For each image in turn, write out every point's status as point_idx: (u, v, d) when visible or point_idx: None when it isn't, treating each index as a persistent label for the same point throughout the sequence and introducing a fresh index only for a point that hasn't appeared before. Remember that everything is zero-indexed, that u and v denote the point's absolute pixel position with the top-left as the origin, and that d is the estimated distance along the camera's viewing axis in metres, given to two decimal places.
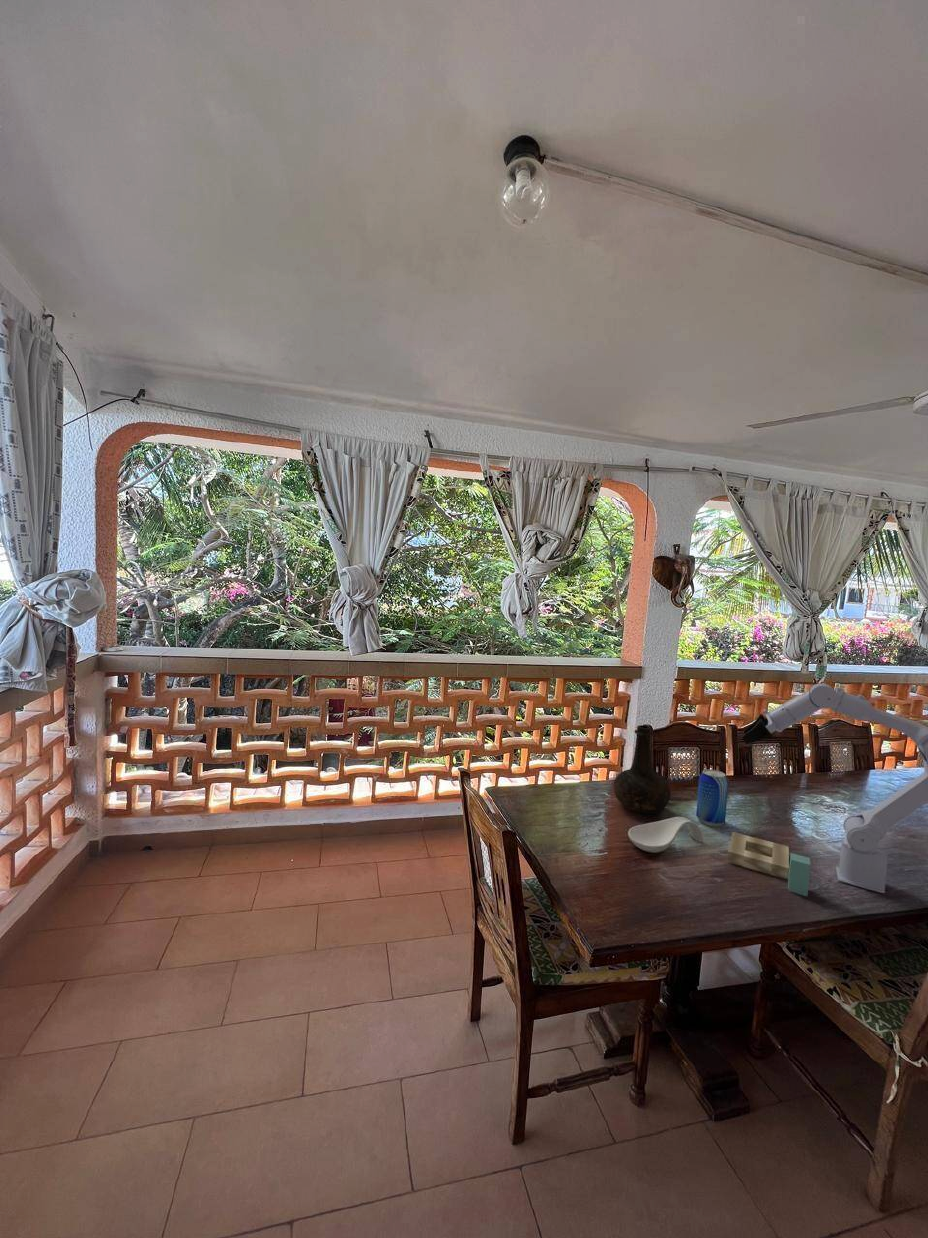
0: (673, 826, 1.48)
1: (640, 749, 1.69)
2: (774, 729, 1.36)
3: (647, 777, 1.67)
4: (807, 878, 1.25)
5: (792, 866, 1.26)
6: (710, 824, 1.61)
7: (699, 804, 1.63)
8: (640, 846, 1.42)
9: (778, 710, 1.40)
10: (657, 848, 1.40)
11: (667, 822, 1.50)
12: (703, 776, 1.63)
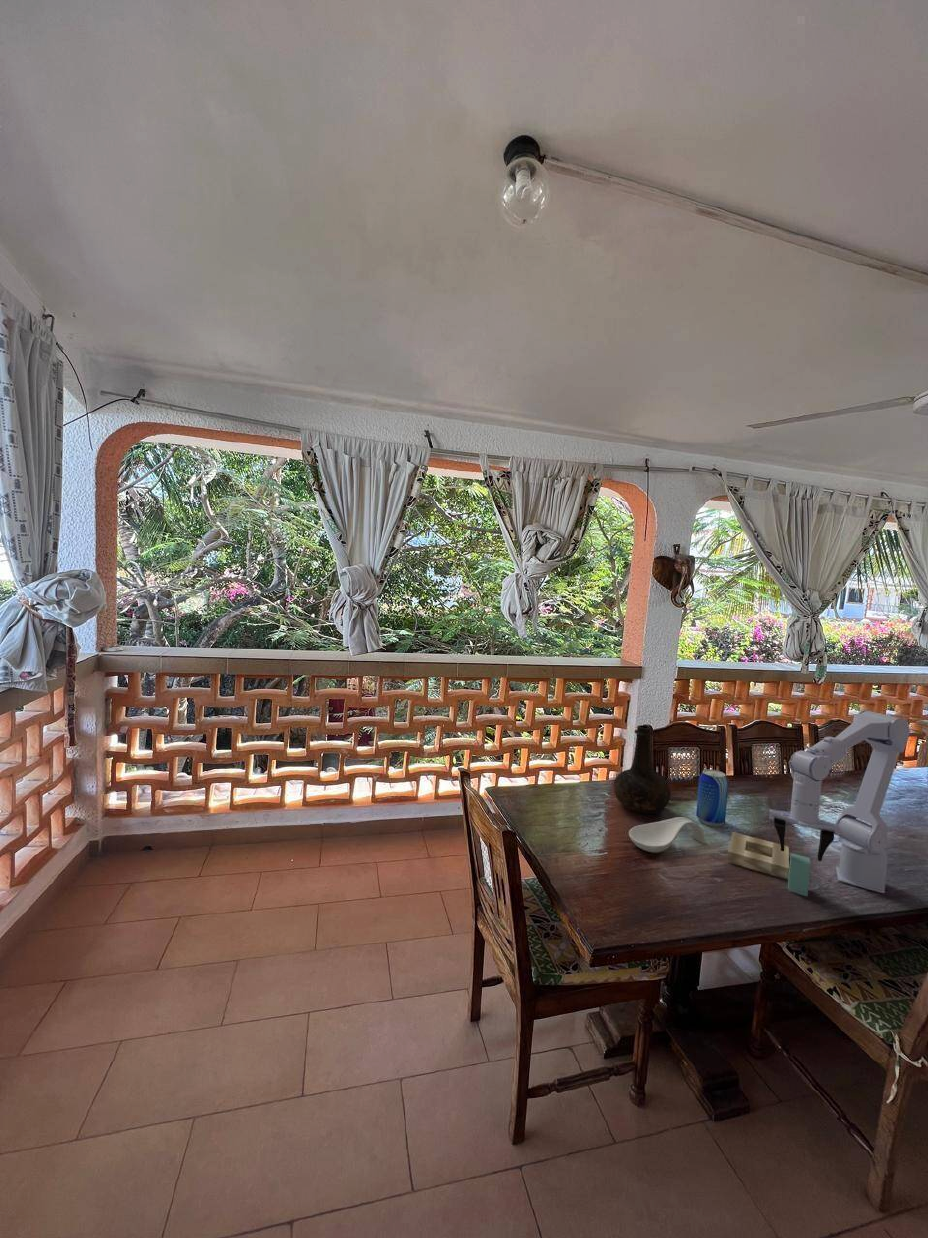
0: (674, 826, 1.48)
1: (640, 749, 1.69)
2: None
3: (647, 777, 1.67)
4: (807, 878, 1.25)
5: (792, 866, 1.26)
6: (710, 824, 1.61)
7: (699, 804, 1.63)
8: (640, 846, 1.42)
9: (813, 812, 1.23)
10: (657, 848, 1.40)
11: (668, 822, 1.50)
12: (703, 776, 1.63)
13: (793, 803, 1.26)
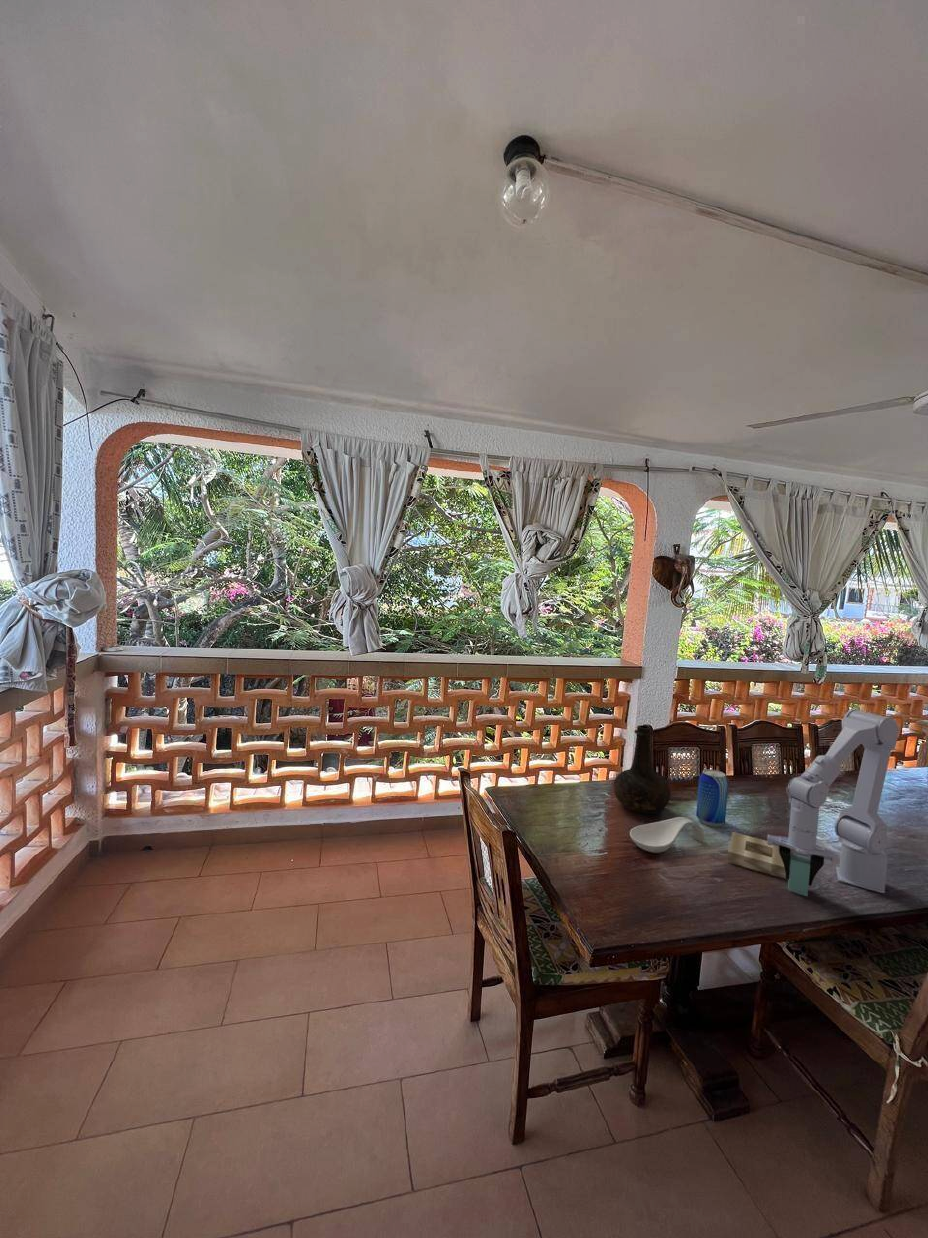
0: (675, 826, 1.48)
1: (640, 749, 1.69)
2: None
3: (647, 777, 1.67)
4: (807, 878, 1.25)
5: (792, 866, 1.26)
6: (710, 824, 1.61)
7: (699, 804, 1.63)
8: (642, 846, 1.42)
9: (811, 839, 1.24)
10: (659, 848, 1.40)
11: (668, 822, 1.50)
12: (703, 776, 1.63)
13: (791, 829, 1.27)
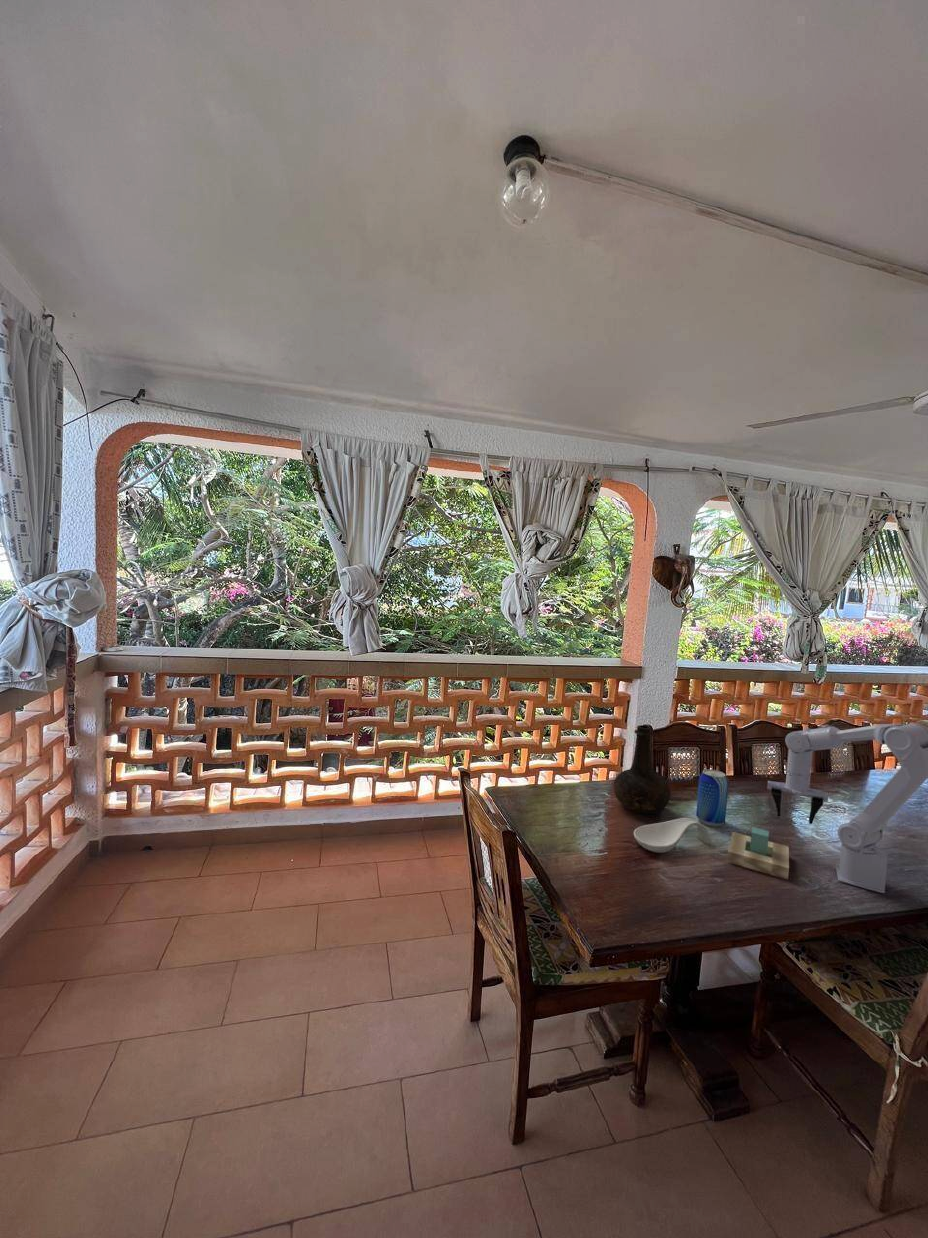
0: (679, 827, 1.47)
1: (640, 749, 1.69)
2: (827, 795, 1.43)
3: (647, 777, 1.67)
4: (766, 848, 1.39)
5: (753, 838, 1.40)
6: (710, 824, 1.61)
7: (699, 804, 1.63)
8: (645, 846, 1.42)
9: (805, 782, 1.43)
10: (662, 848, 1.40)
11: (673, 822, 1.49)
12: (703, 776, 1.63)
13: (788, 774, 1.46)
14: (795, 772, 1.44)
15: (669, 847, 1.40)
